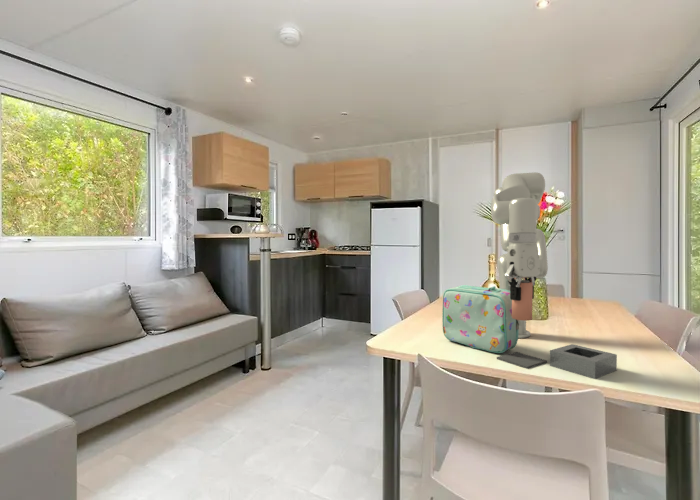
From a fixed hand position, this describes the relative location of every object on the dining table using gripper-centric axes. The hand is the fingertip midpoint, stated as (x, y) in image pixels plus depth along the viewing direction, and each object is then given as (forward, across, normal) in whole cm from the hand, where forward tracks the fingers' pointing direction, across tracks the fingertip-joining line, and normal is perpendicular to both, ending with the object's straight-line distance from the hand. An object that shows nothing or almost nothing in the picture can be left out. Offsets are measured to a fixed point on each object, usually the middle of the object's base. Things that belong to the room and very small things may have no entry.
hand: (522, 298), depth 110 cm
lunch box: (+19, +2, +17) cm, 26 cm away
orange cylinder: (+6, 0, 0) cm, 6 cm away
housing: (+19, +9, -13) cm, 25 cm away
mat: (+19, 0, 0) cm, 19 cm away
